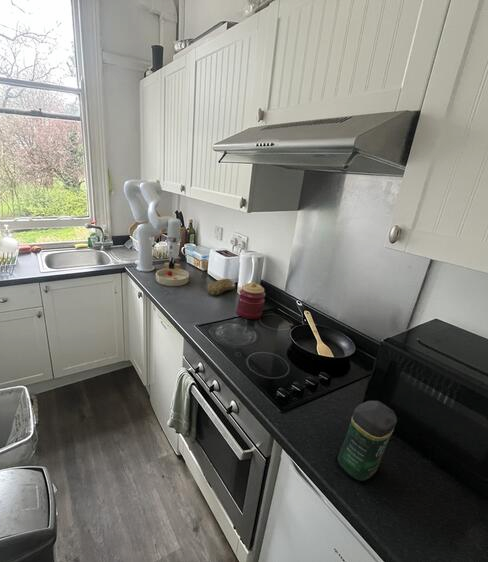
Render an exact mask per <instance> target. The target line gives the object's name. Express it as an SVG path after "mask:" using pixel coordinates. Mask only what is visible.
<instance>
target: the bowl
mask: <svg viewBox="0 0 488 562" xmlns="http://www.w3.org/2000/svg"><path fill="white" fill-rule="evenodd" d="M168 271H171V272H172V275H171V276H168V274H167V273H168ZM174 278H177V279H174ZM155 281H156V282H157V284H160V285H162V286H167V287H180V286H181V287H182V286H184V285H186V284H188V283H189V282H190V272H189V271H187V270H184V269H181V268H180V269H179V270H177V269H169V268H161V269H159V270H157V271H156V272H155Z"/></svg>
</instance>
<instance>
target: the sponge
mask: <svg viewBox="0 0 488 562" xmlns="http://www.w3.org/2000/svg"><path fill="white" fill-rule="evenodd" d="M235 288H236V283H235V282H234V281H233V280H232V279H229V278H222V279H217V280H214V281H212V282H209V283H207V286H206V289H207V292H208V294H209V295H212V296H219V295H221V294H223V293H224V292H226V291H232V290H234V289H235Z"/></svg>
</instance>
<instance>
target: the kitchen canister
mask: <svg viewBox="0 0 488 562" xmlns="http://www.w3.org/2000/svg"><path fill="white" fill-rule="evenodd" d="M238 292H239V296H238V302H237V308H236V311H237V315H239V316H240V317H241V318H243V319H247V320H258V319H260V318H262V317H263V316H262V315H263V313H264V304H265V297H266V292H265V288H264V287H263V286H262V285H260V284H258V283H257V282H255V281H251V282H248V283H245V284H243V285H241V288H240V289H239V291H238Z"/></svg>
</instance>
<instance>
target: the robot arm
mask: <svg viewBox="0 0 488 562" xmlns="http://www.w3.org/2000/svg"><path fill="white" fill-rule="evenodd" d="M162 191H163V187H162V185H161V183H160V182H158V181H154V180H148V179H129V180H127V181H125V182H124V185H123V193H124V196H125V198H126V200H127V202H128V204H129V207H130V209H131V213H132V216H133V218H134V219H133V220H135V222H136V223H140V224H138V225H137V227H136V237H137V257H138V259H137V260H135V262H134V264H135V265H136V266H135V269H136V271H139V272H142V273H144V272H145V273H146V272H147V273H148V272H153V271H154V270H155V266H154V265H153V242H152V240H151V238H155V237H156V238H157V237H159V236H160V235H161V234H162V232H163V231H162V230H167V237H166V241H167V243H168V245H167V258H168V263H169V269H174V263H175V264H177V263H176V262H177V258H178V257H179V255H180V252H179V251H180V243H181V242H180V240H181V225H182V222H181V219H179V218H175V217H173V216H171V215H166V216H165V215H163V216H158V213H157V211H156V209H157V208H158V207H160V205H161V204H162V199H161V197H160V196H159V195H161V194H162ZM138 194H141V195H142V197H143V199H144V200H145V202H146V204H147V206H148V207H145V206H144V203H143V200H142V198H141V197H140V196H139V195H138Z"/></svg>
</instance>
